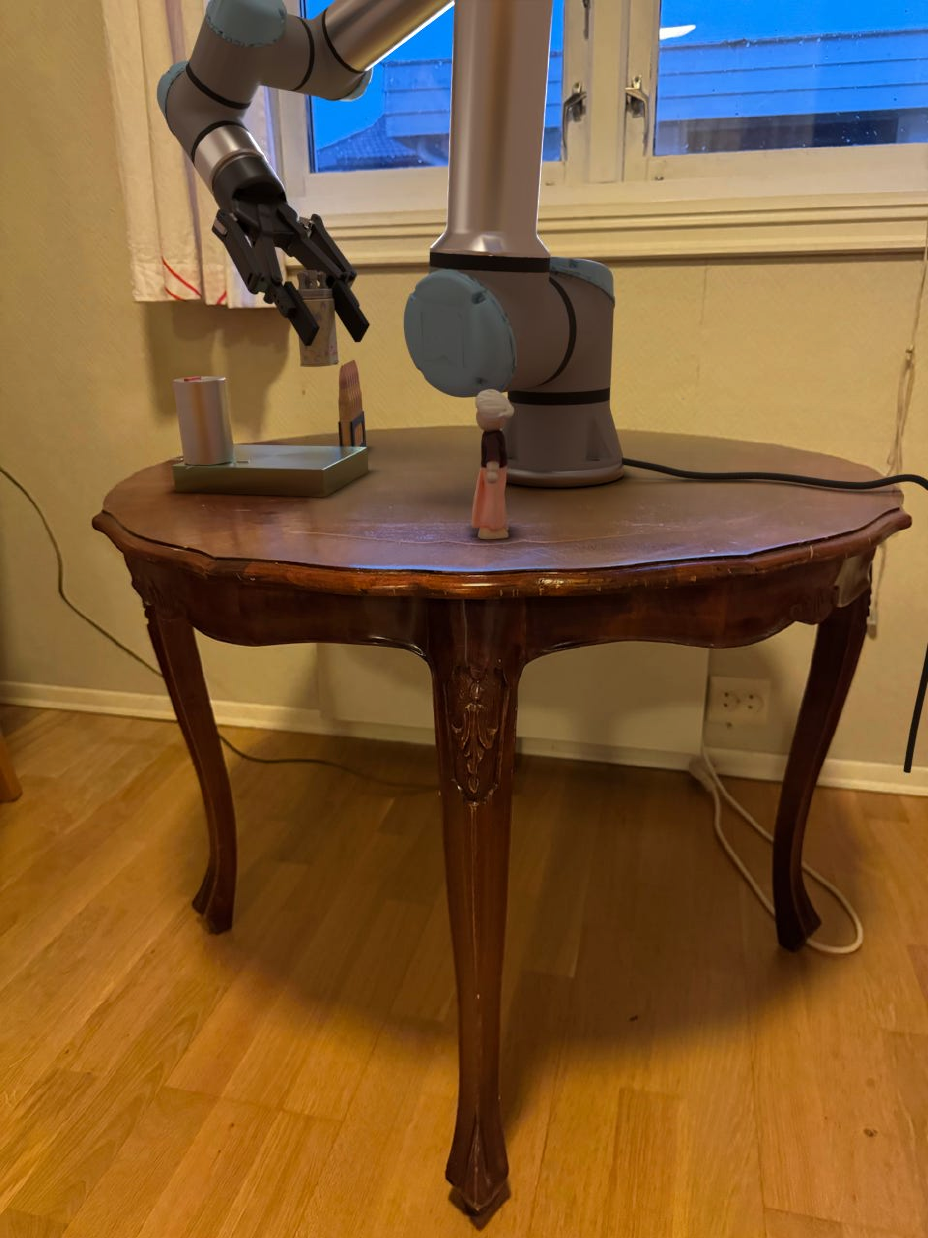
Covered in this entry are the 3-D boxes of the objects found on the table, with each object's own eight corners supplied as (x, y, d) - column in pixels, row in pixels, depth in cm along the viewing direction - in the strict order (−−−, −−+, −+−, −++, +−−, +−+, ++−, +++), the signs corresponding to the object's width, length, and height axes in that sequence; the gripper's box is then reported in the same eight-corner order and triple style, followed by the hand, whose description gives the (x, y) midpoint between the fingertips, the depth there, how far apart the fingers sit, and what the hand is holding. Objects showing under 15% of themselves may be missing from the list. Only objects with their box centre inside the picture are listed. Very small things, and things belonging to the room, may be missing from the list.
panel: (368, 471, 107) (367, 445, 106) (318, 501, 93) (315, 471, 92) (221, 467, 112) (218, 442, 111) (151, 495, 97) (146, 466, 96)
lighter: (312, 363, 102) (305, 270, 99) (344, 362, 102) (338, 270, 98) (297, 368, 96) (288, 270, 92) (331, 368, 95) (324, 269, 92)
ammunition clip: (354, 461, 113) (348, 365, 109) (340, 461, 114) (333, 365, 109) (366, 447, 123) (361, 358, 119) (353, 447, 124) (347, 359, 119)
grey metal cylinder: (200, 455, 103) (189, 373, 99) (243, 456, 101) (234, 373, 98) (174, 464, 98) (162, 378, 94) (219, 465, 96) (209, 378, 93)
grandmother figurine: (467, 524, 82) (464, 385, 78) (508, 522, 82) (507, 383, 78) (475, 547, 75) (472, 395, 71) (520, 545, 75) (520, 393, 71)
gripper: (299, 211, 109) (390, 353, 104) (155, 205, 97) (251, 365, 92) (321, 159, 104) (418, 306, 99) (172, 145, 91) (274, 312, 86)
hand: (337, 334), depth 95 cm, fingers closed on lighter, 6 cm apart
